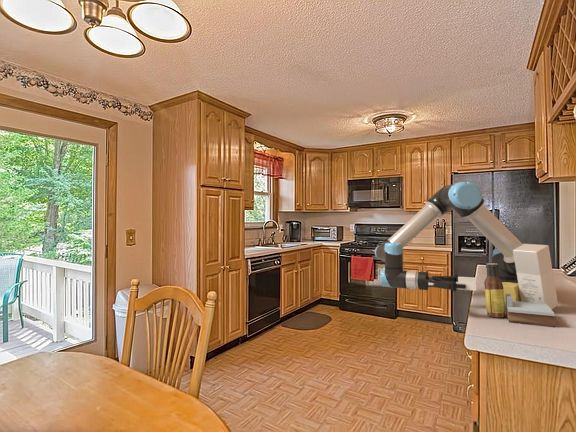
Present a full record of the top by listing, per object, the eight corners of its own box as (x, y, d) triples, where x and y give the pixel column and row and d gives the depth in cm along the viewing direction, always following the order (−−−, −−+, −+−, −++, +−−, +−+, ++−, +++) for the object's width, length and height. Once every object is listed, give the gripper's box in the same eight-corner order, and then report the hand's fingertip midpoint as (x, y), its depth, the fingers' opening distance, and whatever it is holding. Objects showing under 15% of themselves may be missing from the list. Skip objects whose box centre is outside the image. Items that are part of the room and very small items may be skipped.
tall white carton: (558, 305, 132) (549, 245, 129) (546, 313, 128) (536, 252, 125) (533, 300, 140) (524, 243, 137) (522, 308, 136) (512, 250, 133)
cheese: (494, 303, 146) (493, 280, 146) (523, 307, 138) (522, 283, 138) (486, 307, 139) (485, 283, 140) (516, 312, 131) (515, 286, 132)
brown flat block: (505, 312, 130) (505, 303, 130) (547, 316, 124) (546, 307, 124) (508, 322, 118) (508, 312, 118) (554, 327, 112) (554, 316, 112)
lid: (505, 302, 131) (504, 292, 131) (546, 306, 124) (545, 295, 124) (508, 311, 118) (508, 300, 118) (554, 316, 111) (554, 303, 112)
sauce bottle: (509, 316, 125) (506, 263, 125) (500, 319, 122) (497, 265, 122) (491, 313, 130) (489, 262, 131) (482, 315, 127) (480, 263, 128)
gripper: (422, 284, 150) (476, 287, 140) (413, 295, 128) (476, 300, 118) (422, 267, 150) (475, 270, 140) (412, 275, 129) (475, 279, 118)
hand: (476, 283), depth 129 cm, fingers open, 13 cm apart
